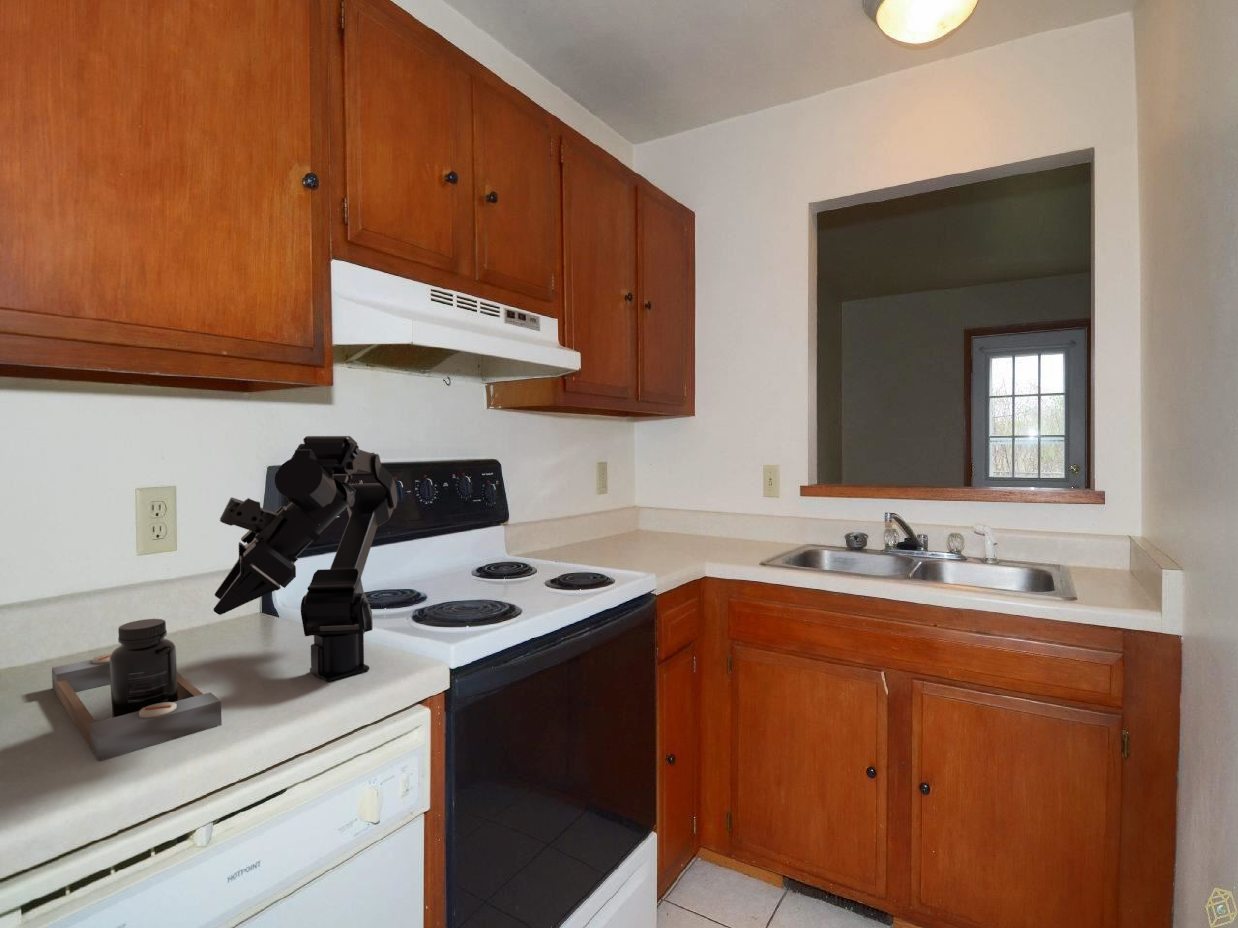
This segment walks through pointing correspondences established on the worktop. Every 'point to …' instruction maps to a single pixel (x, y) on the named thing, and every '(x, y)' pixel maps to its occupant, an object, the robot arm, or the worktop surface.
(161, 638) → the supplement bottle
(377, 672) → the worktop surface
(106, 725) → the wooden frame
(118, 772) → the worktop surface
